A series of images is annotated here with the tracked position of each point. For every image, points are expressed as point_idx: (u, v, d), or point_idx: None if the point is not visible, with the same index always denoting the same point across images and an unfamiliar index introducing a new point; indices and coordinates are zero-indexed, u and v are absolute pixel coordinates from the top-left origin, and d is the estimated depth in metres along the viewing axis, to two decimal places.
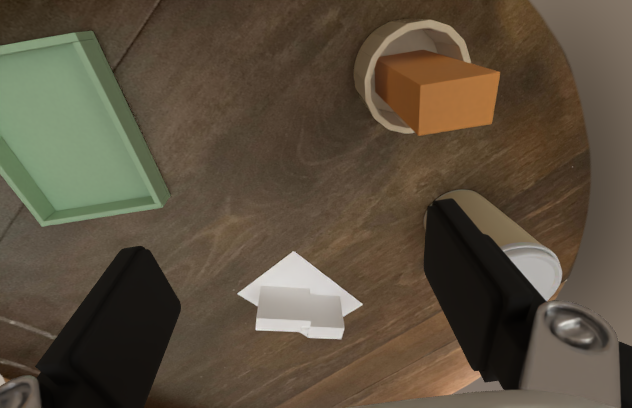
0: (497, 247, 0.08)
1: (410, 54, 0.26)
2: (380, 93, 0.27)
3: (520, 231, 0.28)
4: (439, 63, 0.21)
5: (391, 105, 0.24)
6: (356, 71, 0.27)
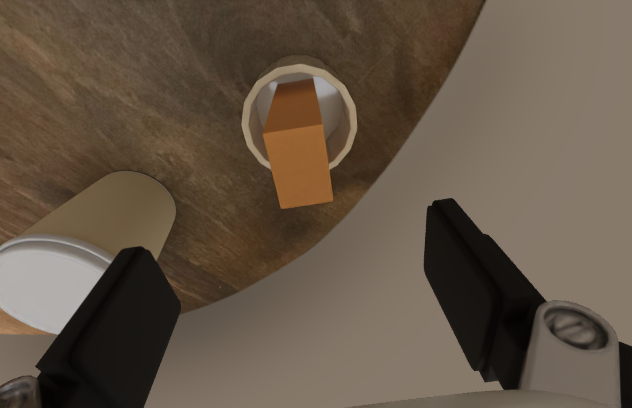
0: (497, 246, 0.08)
1: None
2: (280, 88, 0.23)
3: None
4: None
5: (275, 101, 0.20)
6: (301, 56, 0.23)
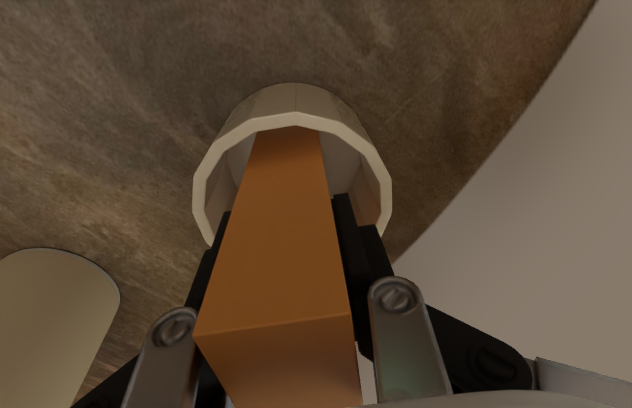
0: (378, 235, 0.10)
1: None
2: (261, 141, 0.14)
3: None
4: None
5: (248, 178, 0.11)
6: (296, 88, 0.14)
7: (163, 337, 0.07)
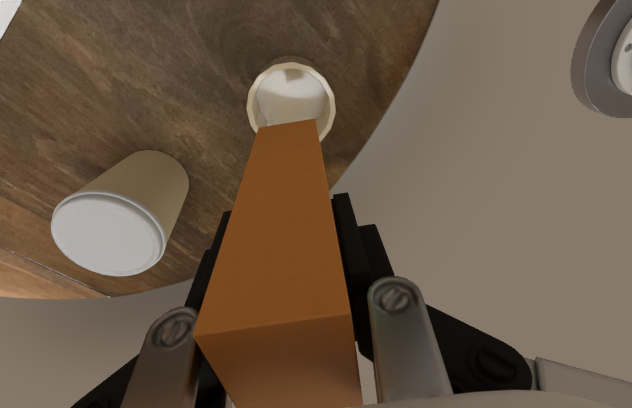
0: (378, 234, 0.10)
1: None
2: (261, 141, 0.14)
3: (170, 229, 0.31)
4: None
5: (248, 178, 0.11)
6: (292, 56, 0.30)
7: (163, 337, 0.07)
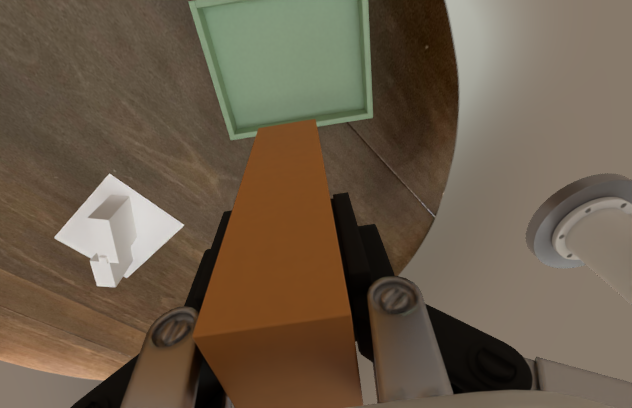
0: (378, 234, 0.10)
1: None
2: (261, 142, 0.14)
3: None
4: None
5: (248, 179, 0.11)
6: None
7: (163, 337, 0.07)
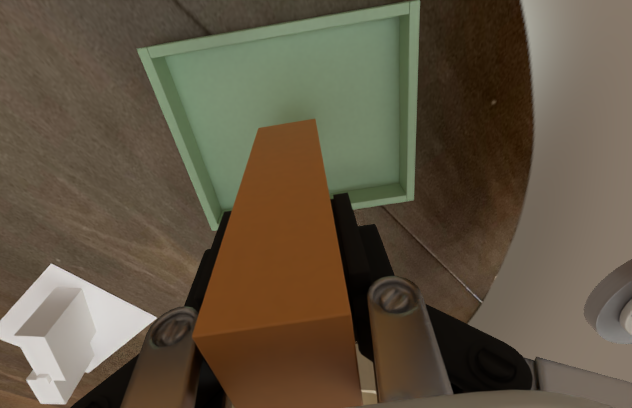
0: (378, 234, 0.10)
1: None
2: (261, 141, 0.14)
3: None
4: None
5: (248, 179, 0.11)
6: None
7: (163, 337, 0.07)
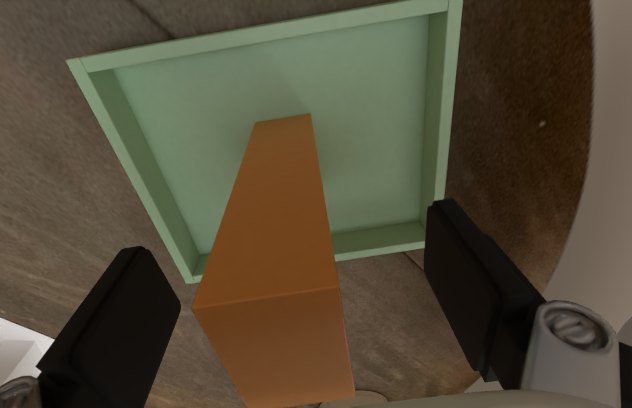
0: (497, 246, 0.08)
1: None
2: (257, 135, 0.14)
3: None
4: None
5: (245, 169, 0.11)
6: None
7: None
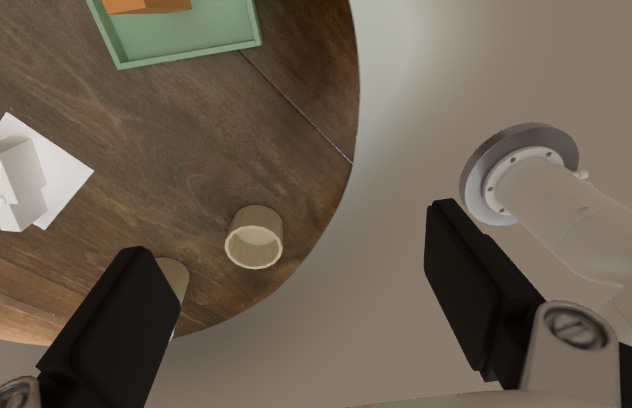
0: (497, 246, 0.08)
1: None
2: None
3: None
4: None
5: None
6: (255, 210, 0.46)
7: None
